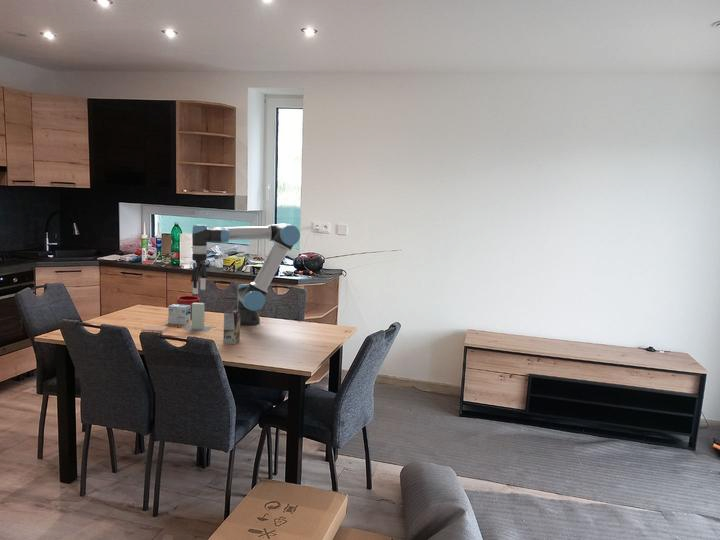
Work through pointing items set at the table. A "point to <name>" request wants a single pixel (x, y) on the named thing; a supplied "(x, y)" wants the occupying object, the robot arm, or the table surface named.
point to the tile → (155, 328)
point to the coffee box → (231, 326)
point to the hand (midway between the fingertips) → (199, 291)
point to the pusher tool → (198, 315)
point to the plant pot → (188, 301)
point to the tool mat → (206, 329)
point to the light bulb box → (179, 314)
